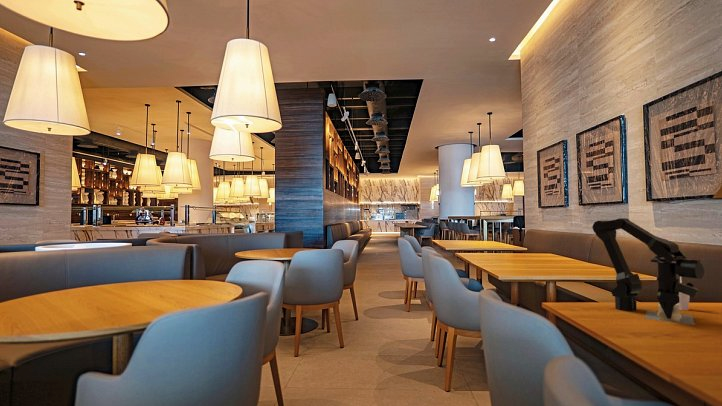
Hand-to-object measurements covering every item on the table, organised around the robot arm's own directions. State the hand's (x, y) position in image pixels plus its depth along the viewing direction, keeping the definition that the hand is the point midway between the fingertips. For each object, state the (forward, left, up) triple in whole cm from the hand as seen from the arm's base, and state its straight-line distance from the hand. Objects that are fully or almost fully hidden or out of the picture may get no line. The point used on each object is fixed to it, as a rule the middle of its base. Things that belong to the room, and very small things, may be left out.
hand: (669, 316), depth 139 cm
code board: (+2, +2, -2) cm, 3 cm away
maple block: (0, 0, -1) cm, 1 cm away
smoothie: (+19, +18, -2) cm, 27 cm away
